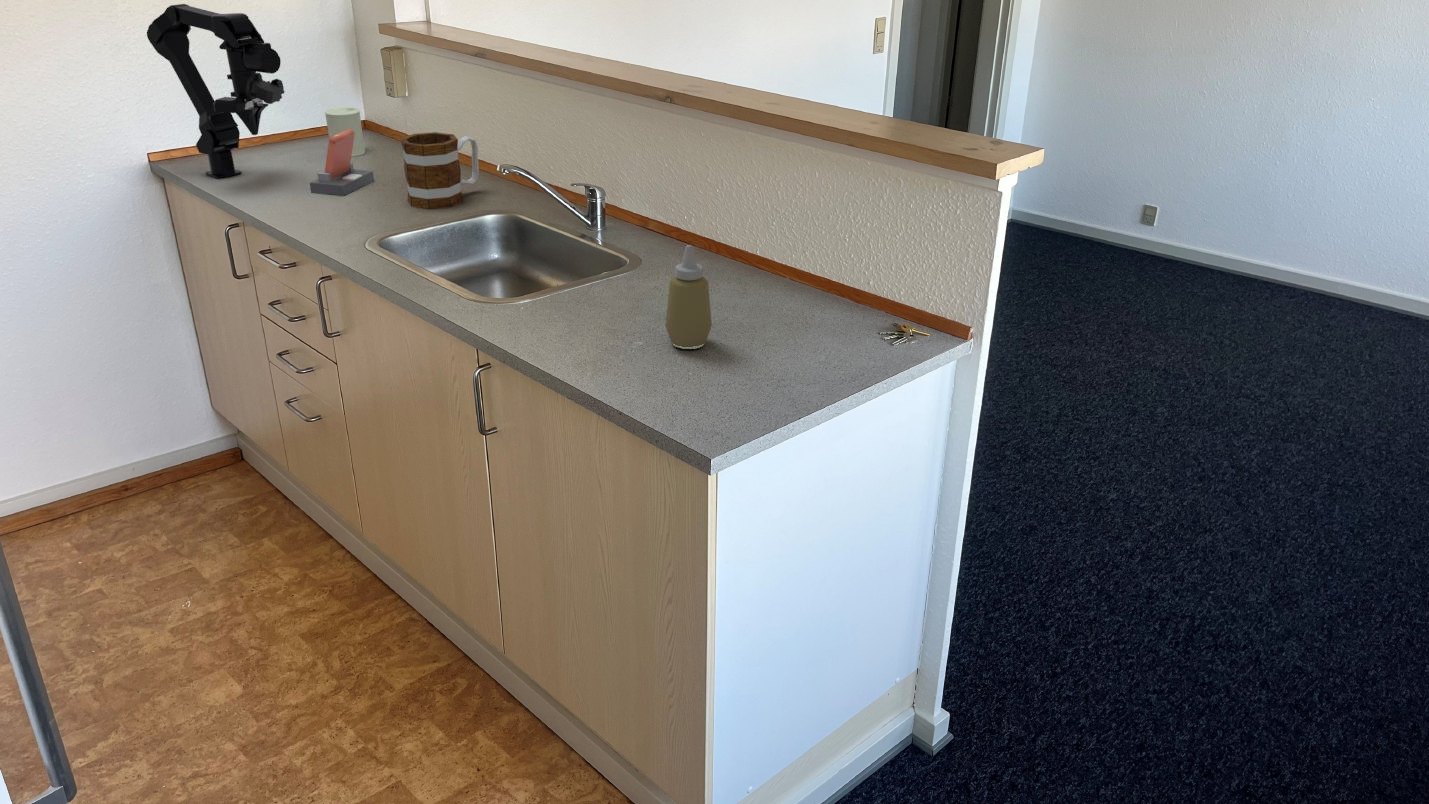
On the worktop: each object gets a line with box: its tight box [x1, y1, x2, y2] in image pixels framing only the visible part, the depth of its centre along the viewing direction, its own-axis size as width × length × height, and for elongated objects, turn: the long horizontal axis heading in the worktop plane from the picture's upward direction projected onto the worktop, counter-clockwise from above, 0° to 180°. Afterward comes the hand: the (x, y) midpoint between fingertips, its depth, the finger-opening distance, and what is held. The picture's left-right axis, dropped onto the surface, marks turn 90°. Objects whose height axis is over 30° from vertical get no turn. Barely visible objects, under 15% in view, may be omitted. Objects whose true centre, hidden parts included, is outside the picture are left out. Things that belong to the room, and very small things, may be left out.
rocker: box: [324, 129, 355, 179], centre depth 261 cm, size 2×8×11 cm, turn 166°
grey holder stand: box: [309, 162, 375, 197], centre depth 264 cm, size 9×14×4 cm, turn 165°
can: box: [324, 107, 366, 158], centre depth 291 cm, size 9×9×12 cm
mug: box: [400, 131, 480, 210], centre depth 254 cm, size 20×14×15 cm
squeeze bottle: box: [664, 244, 713, 347], centre depth 181 cm, size 8×8×18 cm
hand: (255, 134), depth 261 cm, fingers closed
